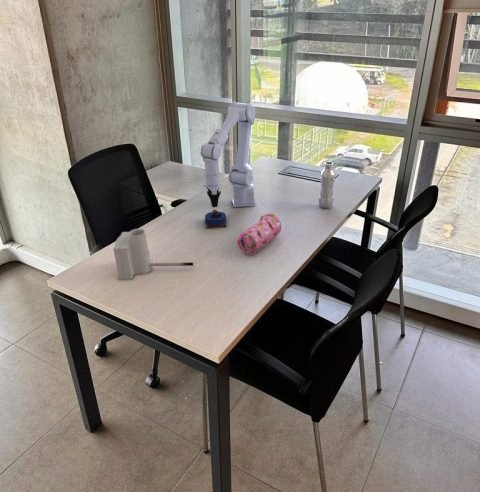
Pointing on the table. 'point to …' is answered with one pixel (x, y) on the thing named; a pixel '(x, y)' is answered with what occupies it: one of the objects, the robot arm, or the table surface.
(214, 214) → the stand
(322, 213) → the table surface
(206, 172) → the robot arm
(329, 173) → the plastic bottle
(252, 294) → the table surface
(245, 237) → the pencil case
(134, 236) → the electronic device
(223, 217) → the ring
